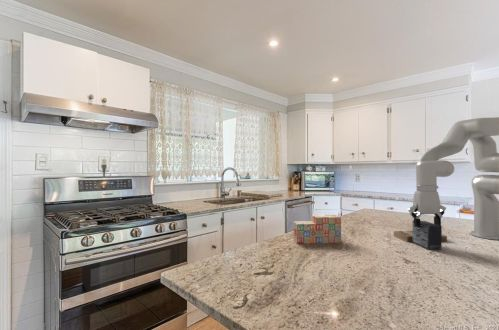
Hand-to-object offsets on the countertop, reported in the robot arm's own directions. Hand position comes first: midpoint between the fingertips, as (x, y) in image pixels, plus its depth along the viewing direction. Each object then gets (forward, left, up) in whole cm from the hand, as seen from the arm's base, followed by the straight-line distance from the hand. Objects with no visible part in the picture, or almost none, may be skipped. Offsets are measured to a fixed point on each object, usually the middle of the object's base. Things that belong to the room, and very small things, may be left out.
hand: (427, 226), depth 113 cm
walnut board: (-5, -11, -9) cm, 15 cm away
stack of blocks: (+48, -10, -9) cm, 50 cm away
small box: (+1, 0, -9) cm, 9 cm away
